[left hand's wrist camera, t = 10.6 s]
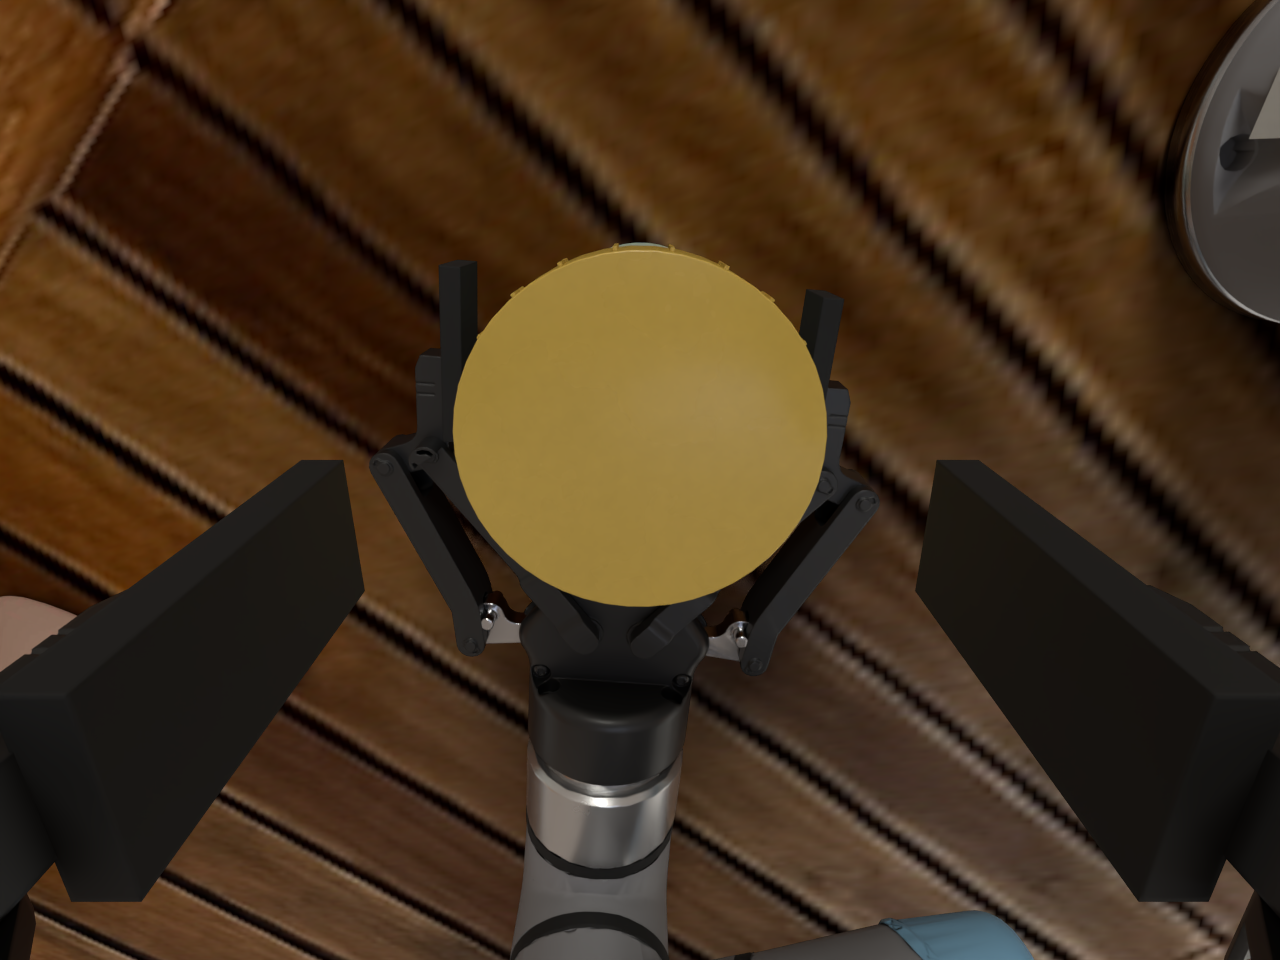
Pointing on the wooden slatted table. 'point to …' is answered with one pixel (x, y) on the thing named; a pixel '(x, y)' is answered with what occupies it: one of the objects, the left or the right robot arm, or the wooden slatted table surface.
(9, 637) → the anatomical model
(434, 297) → the wooden slatted table surface
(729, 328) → the lid
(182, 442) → the wooden slatted table surface
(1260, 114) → the left robot arm
